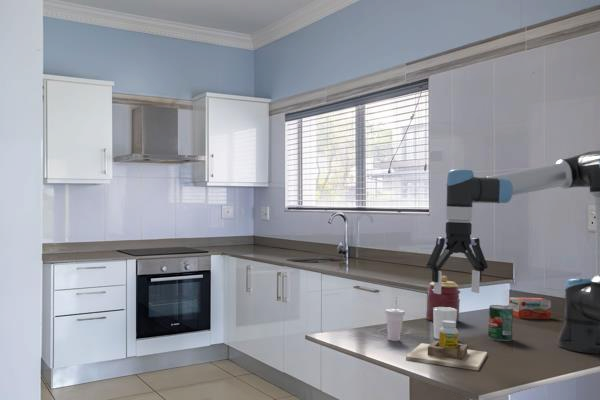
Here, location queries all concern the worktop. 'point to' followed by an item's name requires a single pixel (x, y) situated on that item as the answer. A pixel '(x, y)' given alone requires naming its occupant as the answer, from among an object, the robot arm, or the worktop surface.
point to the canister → (443, 297)
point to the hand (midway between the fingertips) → (456, 293)
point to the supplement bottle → (448, 335)
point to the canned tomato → (500, 322)
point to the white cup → (442, 318)
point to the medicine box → (530, 308)
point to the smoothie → (394, 322)
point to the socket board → (448, 356)
